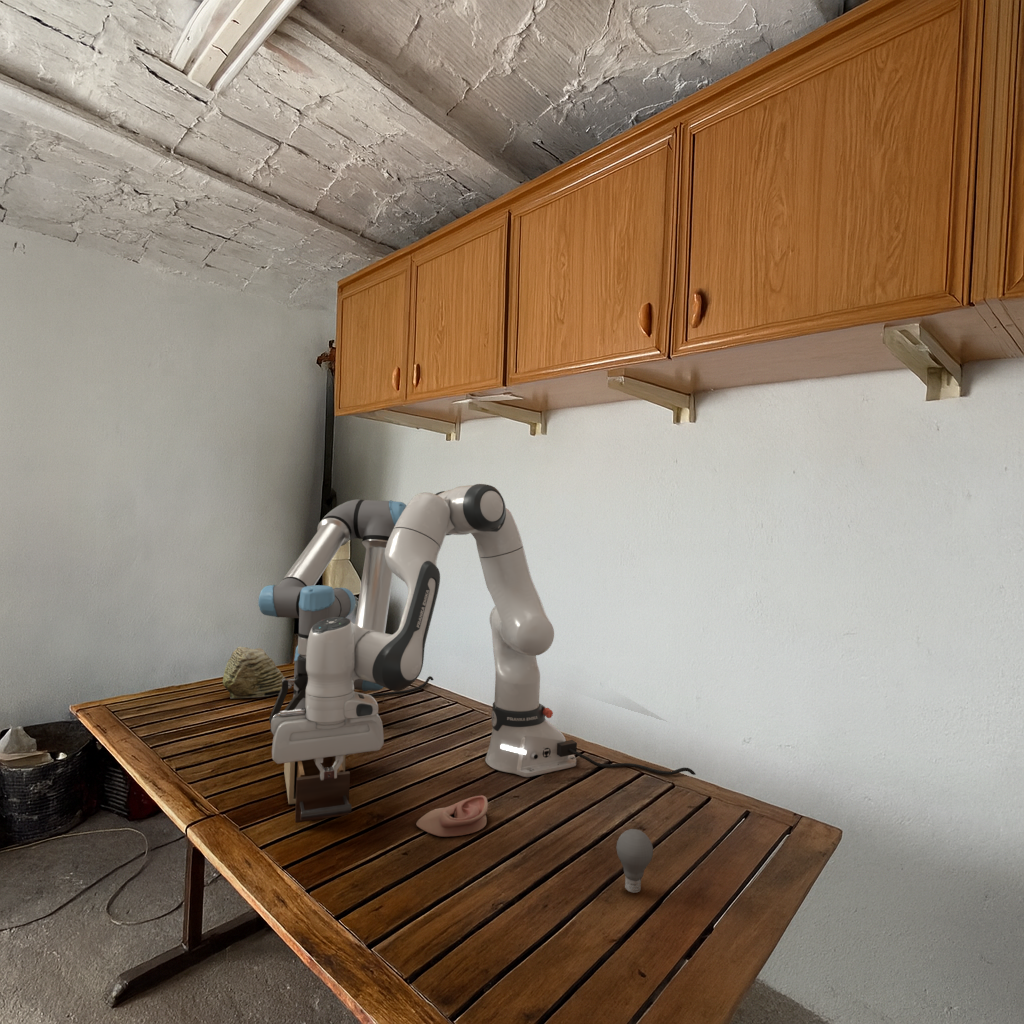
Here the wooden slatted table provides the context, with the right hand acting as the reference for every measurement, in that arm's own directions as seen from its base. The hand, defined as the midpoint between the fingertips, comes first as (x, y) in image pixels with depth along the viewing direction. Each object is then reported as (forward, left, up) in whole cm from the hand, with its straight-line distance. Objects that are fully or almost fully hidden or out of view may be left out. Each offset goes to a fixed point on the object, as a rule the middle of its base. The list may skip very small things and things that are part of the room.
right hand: (328, 778), depth 119 cm
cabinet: (+1, -21, -10) cm, 24 cm away
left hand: (+2, -27, -5) cm, 27 cm away
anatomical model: (-24, +3, -10) cm, 26 cm away
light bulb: (-47, +33, -10) cm, 58 cm away
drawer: (+1, -8, -9) cm, 12 cm away
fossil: (+15, -89, -10) cm, 91 cm away
